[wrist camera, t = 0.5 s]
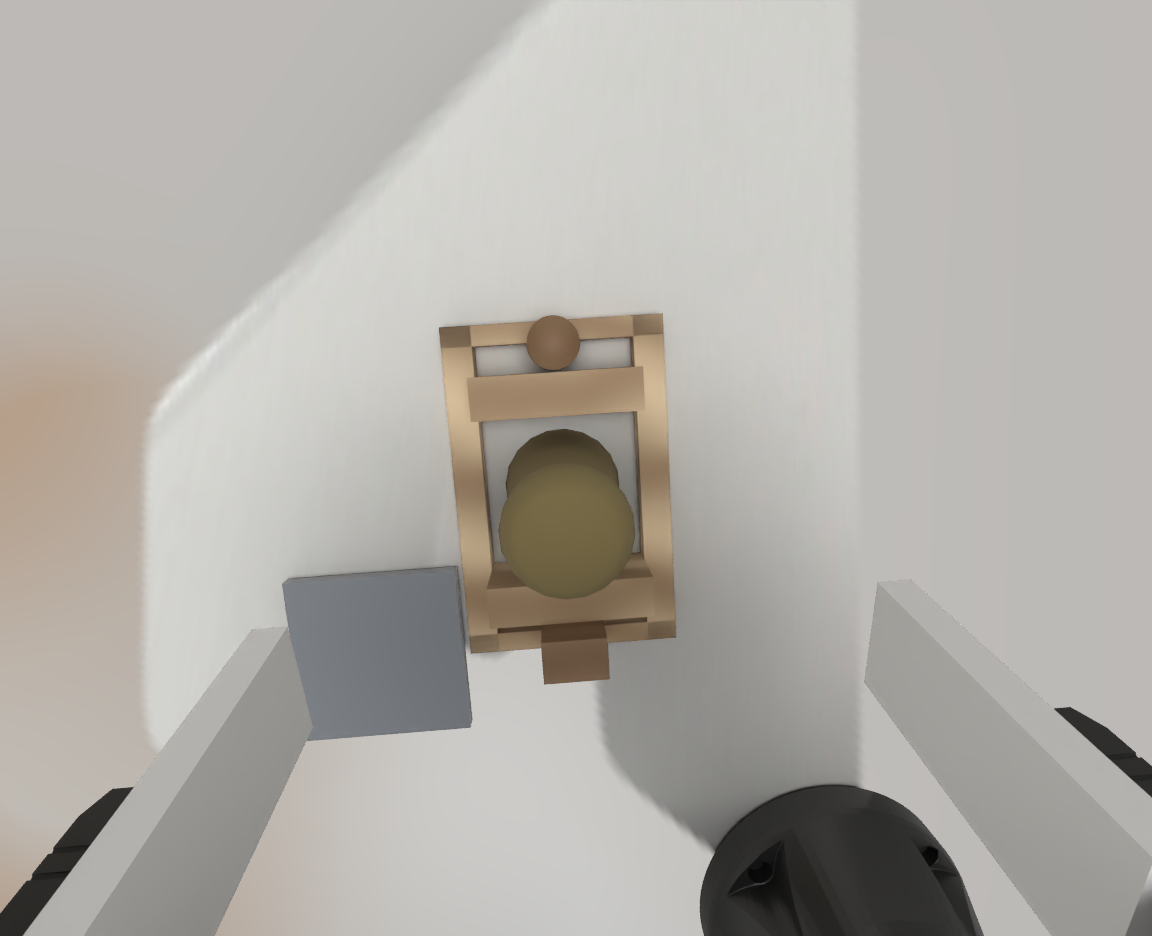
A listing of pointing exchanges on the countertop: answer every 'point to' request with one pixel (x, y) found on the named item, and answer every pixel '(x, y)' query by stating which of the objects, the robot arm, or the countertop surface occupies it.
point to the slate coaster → (380, 651)
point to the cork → (565, 516)
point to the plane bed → (492, 590)
